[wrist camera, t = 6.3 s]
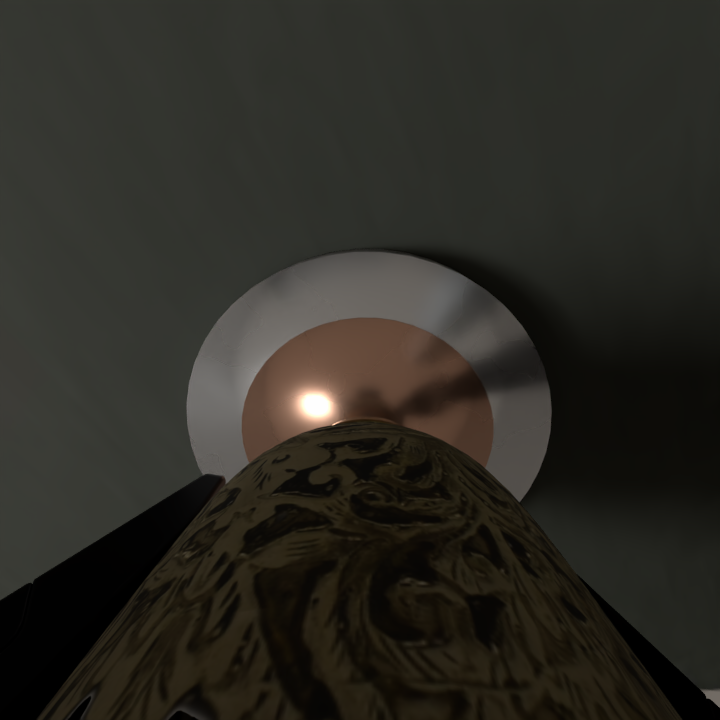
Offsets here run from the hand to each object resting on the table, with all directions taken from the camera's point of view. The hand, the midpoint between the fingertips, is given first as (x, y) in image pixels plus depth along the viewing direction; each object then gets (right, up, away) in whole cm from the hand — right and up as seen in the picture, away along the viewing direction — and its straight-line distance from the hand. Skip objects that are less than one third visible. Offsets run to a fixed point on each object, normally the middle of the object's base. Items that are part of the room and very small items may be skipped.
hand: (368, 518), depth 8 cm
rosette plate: (0, +2, +4) cm, 5 cm away
